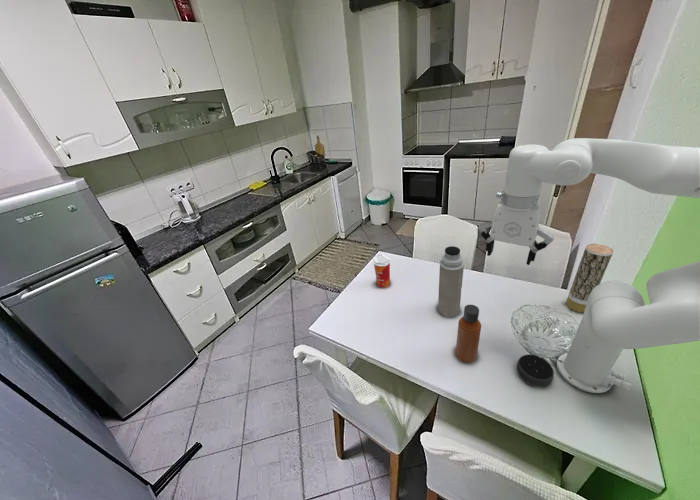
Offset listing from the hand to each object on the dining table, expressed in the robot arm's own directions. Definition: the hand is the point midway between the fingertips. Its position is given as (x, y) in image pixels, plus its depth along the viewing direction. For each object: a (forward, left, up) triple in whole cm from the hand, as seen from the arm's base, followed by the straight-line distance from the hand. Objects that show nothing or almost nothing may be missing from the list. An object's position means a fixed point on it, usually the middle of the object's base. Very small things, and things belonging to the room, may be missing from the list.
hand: (508, 257), depth 76 cm
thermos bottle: (+18, -7, -34) cm, 40 cm away
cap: (+5, +9, -18) cm, 21 cm away
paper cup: (+49, -8, -34) cm, 60 cm away
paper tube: (-20, -32, -34) cm, 51 cm away
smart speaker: (-13, +6, -34) cm, 37 cm away
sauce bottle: (+5, +9, -34) cm, 36 cm away
